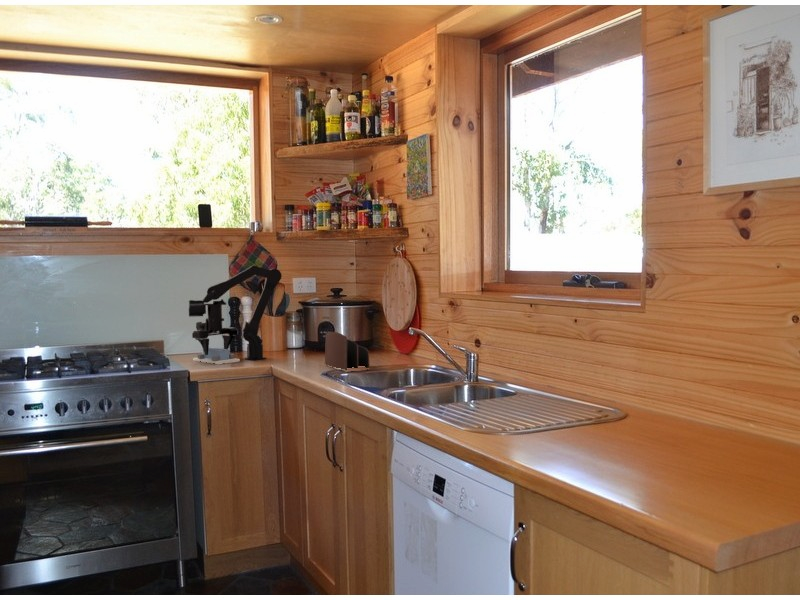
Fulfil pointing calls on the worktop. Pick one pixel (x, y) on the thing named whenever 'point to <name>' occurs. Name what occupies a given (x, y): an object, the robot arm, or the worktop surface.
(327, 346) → the letter holder
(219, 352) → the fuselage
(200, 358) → the cradle
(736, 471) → the worktop surface
